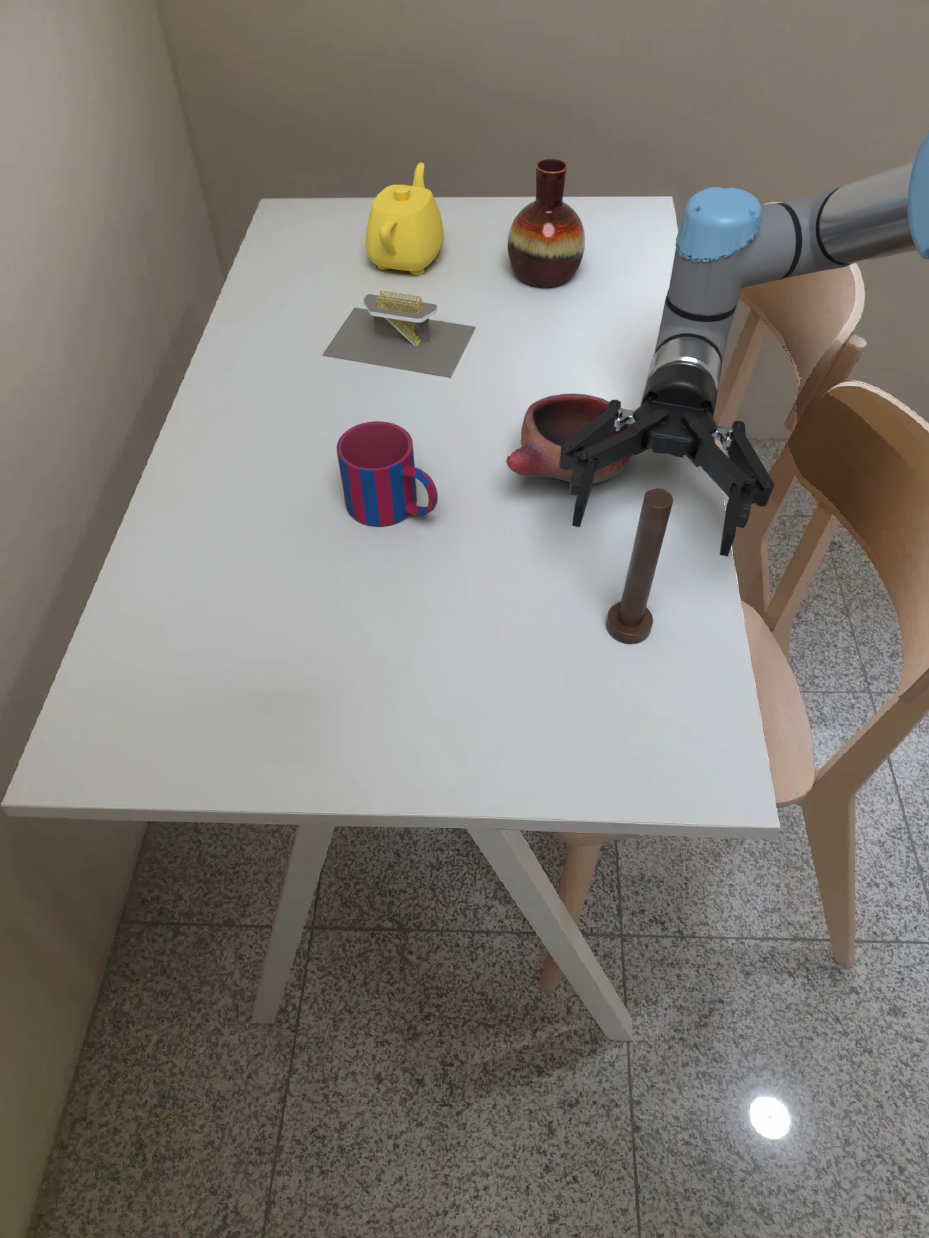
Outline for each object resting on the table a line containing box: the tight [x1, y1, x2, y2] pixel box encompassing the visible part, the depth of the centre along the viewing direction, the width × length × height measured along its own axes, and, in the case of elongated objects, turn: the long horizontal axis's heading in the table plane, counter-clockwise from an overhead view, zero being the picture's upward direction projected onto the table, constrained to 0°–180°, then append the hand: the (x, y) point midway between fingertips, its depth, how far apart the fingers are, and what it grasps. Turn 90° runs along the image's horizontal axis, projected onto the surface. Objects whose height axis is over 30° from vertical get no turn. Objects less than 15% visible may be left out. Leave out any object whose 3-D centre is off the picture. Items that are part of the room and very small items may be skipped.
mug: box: [336, 420, 439, 527], centre depth 91 cm, size 8×12×8 cm, turn 46°
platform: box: [321, 289, 477, 378], centre depth 111 cm, size 12×18×7 cm, turn 73°
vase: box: [507, 158, 586, 288], centre depth 118 cm, size 11×11×15 cm
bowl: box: [506, 392, 634, 484], centre depth 94 cm, size 16×13×8 cm
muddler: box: [605, 487, 674, 645], centre depth 76 cm, size 4×4×18 cm
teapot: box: [365, 162, 445, 276], centre depth 123 cm, size 18×11×11 cm, turn 164°
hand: (651, 531), depth 76 cm, fingers open, 13 cm apart
